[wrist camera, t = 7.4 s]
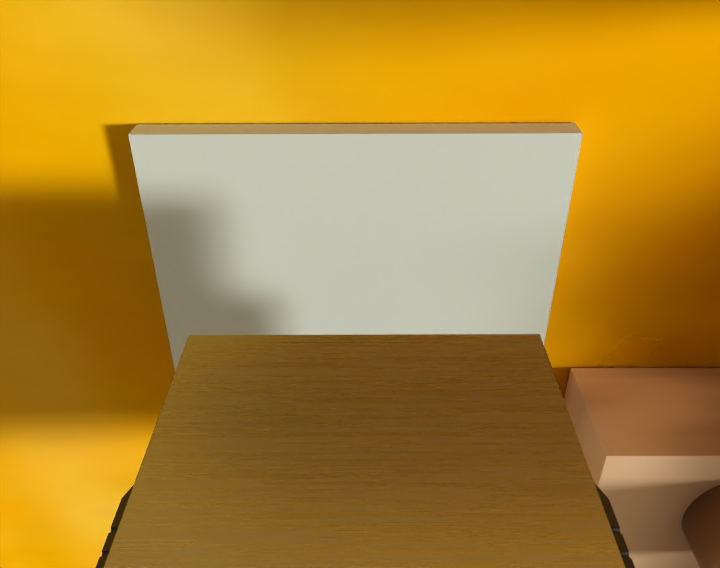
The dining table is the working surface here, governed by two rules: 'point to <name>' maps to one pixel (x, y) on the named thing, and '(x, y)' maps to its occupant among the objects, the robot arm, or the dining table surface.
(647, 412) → the body
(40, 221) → the dining table surface
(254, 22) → the dining table surface
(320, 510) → the lever cap
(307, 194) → the mat
